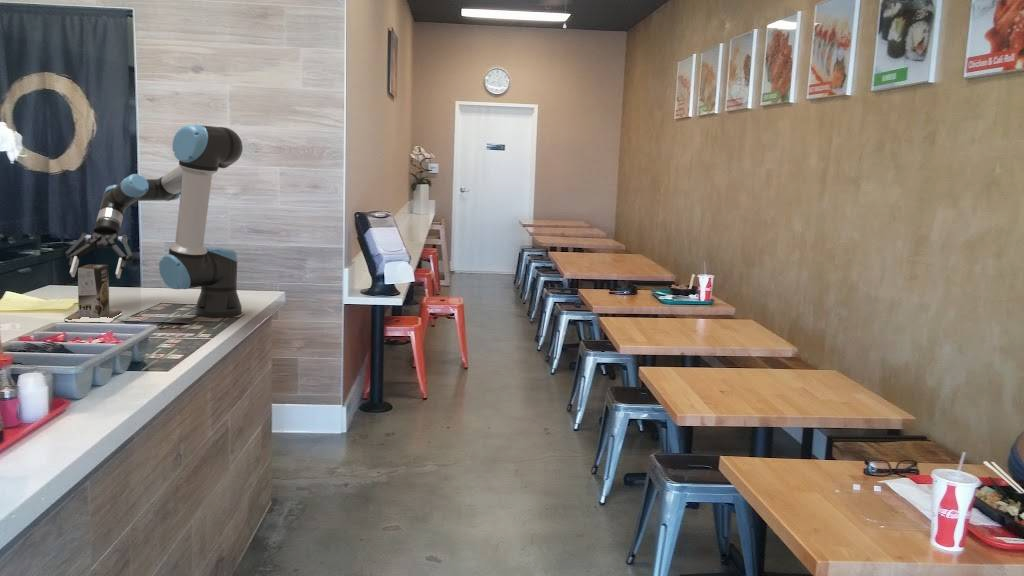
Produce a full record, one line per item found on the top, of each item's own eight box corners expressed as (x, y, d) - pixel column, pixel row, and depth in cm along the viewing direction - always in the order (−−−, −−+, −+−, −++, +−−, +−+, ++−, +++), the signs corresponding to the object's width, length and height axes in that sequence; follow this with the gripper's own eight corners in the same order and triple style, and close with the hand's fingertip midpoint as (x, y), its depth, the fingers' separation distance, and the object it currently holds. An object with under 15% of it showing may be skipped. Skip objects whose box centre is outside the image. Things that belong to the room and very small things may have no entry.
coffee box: (99, 318, 241) (98, 268, 238) (77, 317, 240) (76, 267, 237) (110, 312, 250) (109, 264, 247) (89, 311, 249) (88, 263, 246)
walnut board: (121, 314, 253) (121, 311, 253) (109, 323, 240) (109, 319, 240) (79, 313, 250) (79, 309, 250) (64, 322, 238) (64, 318, 238)
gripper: (149, 233, 264) (138, 283, 252) (71, 229, 259) (56, 280, 247) (145, 219, 258) (133, 270, 246) (65, 215, 253) (49, 267, 241)
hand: (94, 275), depth 247 cm, fingers open, 13 cm apart
